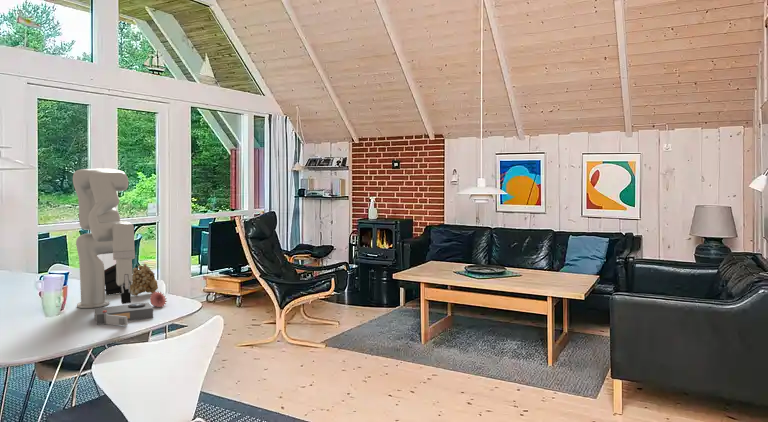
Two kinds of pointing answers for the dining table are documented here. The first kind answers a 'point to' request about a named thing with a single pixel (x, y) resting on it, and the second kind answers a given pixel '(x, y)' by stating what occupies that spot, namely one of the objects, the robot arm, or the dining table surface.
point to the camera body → (125, 312)
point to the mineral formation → (143, 281)
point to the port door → (115, 320)
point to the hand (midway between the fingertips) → (126, 302)
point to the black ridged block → (111, 281)
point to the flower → (157, 299)
